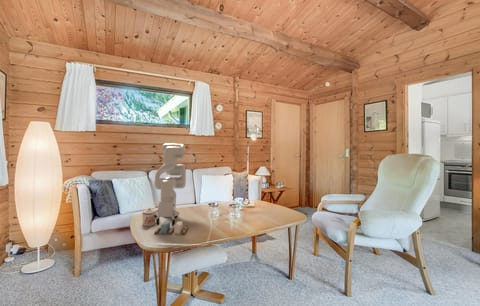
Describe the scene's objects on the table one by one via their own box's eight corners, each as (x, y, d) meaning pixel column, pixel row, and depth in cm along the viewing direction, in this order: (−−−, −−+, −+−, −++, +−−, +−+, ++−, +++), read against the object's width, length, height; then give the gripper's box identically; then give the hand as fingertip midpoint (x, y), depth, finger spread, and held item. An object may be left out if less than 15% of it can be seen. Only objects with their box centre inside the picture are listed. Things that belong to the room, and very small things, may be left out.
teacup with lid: (143, 226, 164) (144, 210, 164) (140, 223, 172) (141, 207, 172) (161, 224, 170) (161, 208, 170) (158, 221, 178) (158, 205, 178)
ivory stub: (177, 228, 159) (177, 221, 159) (182, 228, 159) (182, 221, 159) (174, 233, 150) (174, 225, 150) (179, 233, 150) (180, 225, 150)
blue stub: (164, 228, 159) (164, 221, 159) (169, 228, 159) (170, 221, 159) (160, 233, 150) (160, 225, 150) (166, 233, 150) (166, 225, 150)
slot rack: (160, 228, 161) (160, 225, 161) (188, 229, 162) (188, 225, 162) (153, 235, 147) (153, 231, 147) (184, 236, 148) (184, 232, 148)
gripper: (181, 198, 159) (180, 223, 159) (154, 197, 158) (154, 223, 158) (178, 200, 151) (177, 227, 152) (151, 199, 151) (150, 226, 151)
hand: (165, 225), depth 155 cm, fingers open, 9 cm apart
